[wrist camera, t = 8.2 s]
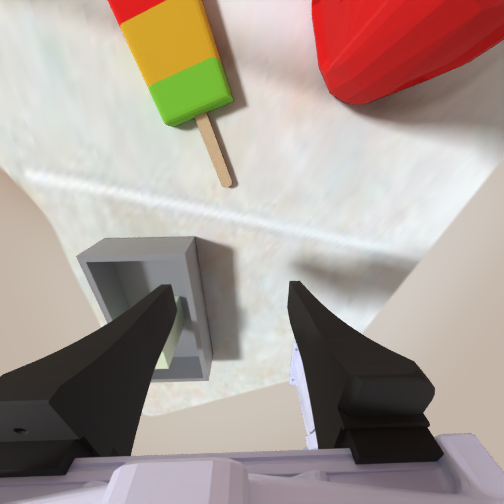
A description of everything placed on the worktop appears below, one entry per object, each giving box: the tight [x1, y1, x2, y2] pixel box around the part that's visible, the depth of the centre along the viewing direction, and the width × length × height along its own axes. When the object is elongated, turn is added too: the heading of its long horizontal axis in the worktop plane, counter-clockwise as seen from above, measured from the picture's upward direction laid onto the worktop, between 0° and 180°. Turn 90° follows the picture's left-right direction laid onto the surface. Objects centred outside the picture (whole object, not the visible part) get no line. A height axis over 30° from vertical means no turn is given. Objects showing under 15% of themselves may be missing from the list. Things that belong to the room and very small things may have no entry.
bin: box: [76, 236, 213, 382], centre depth 23 cm, size 18×9×4 cm, turn 1°
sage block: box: [155, 296, 185, 369], centre depth 21 cm, size 4×4×6 cm
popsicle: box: [108, 0, 233, 187], centre depth 15 cm, size 6×15×2 cm, turn 19°
